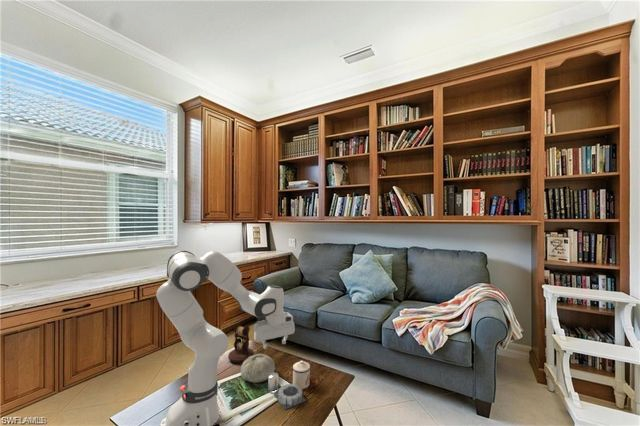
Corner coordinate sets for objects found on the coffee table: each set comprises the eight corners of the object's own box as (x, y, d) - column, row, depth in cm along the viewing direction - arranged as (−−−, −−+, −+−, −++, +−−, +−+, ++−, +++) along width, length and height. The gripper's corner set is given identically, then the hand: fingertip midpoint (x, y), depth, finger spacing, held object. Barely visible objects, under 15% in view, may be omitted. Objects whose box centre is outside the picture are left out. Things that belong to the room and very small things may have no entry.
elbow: (270, 395, 127) (271, 380, 127) (266, 388, 132) (266, 374, 132) (280, 391, 130) (280, 377, 130) (275, 385, 135) (276, 371, 135)
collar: (284, 410, 118) (284, 402, 118) (274, 395, 127) (274, 388, 127) (306, 401, 123) (306, 393, 124) (295, 388, 133) (295, 381, 133)
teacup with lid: (309, 390, 131) (309, 366, 131) (291, 389, 132) (291, 365, 132) (311, 375, 143) (311, 354, 143) (294, 374, 144) (294, 353, 144)
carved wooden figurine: (258, 356, 162) (259, 323, 162) (239, 367, 149) (240, 332, 150) (242, 349, 170) (243, 318, 170) (222, 359, 157) (223, 325, 157)
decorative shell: (254, 392, 129) (255, 371, 129) (233, 378, 139) (233, 359, 140) (281, 375, 143) (281, 356, 143) (259, 363, 154) (260, 346, 154)
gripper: (255, 324, 123) (255, 354, 123) (296, 316, 133) (295, 343, 133) (252, 319, 129) (252, 348, 129) (291, 312, 139) (291, 338, 139)
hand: (274, 345), depth 131 cm, fingers open, 8 cm apart
